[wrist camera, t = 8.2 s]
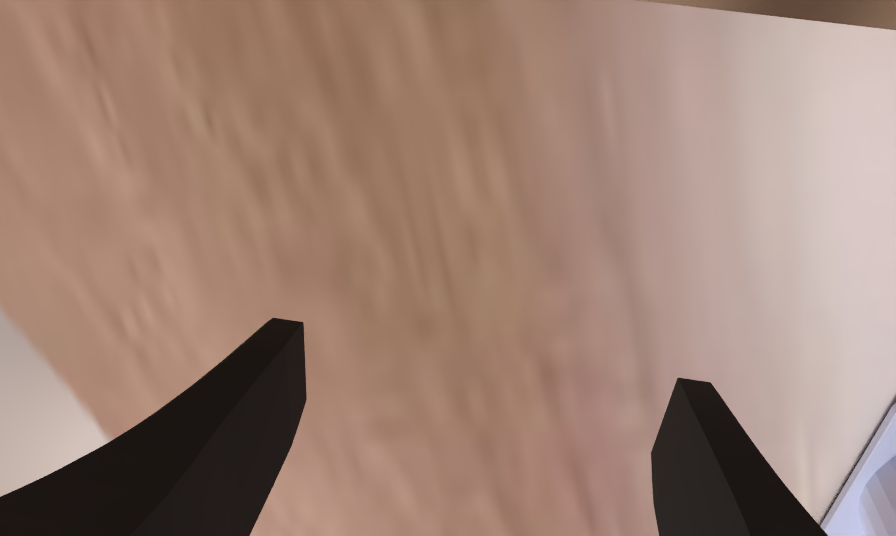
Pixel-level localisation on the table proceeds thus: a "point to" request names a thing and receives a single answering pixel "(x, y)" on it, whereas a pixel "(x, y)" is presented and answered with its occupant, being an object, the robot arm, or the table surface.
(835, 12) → the walnut block
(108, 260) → the table surface
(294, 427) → the robot arm
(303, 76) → the table surface
